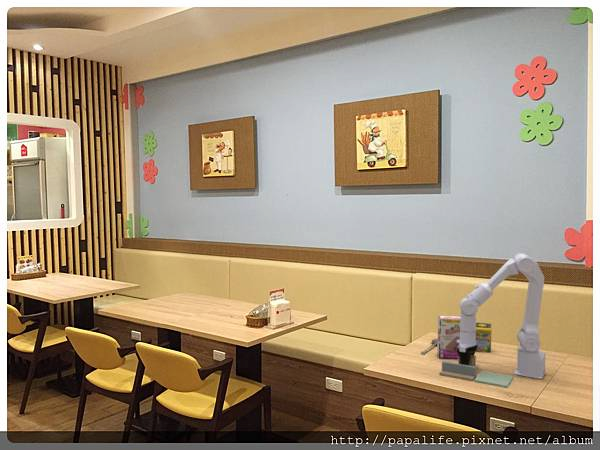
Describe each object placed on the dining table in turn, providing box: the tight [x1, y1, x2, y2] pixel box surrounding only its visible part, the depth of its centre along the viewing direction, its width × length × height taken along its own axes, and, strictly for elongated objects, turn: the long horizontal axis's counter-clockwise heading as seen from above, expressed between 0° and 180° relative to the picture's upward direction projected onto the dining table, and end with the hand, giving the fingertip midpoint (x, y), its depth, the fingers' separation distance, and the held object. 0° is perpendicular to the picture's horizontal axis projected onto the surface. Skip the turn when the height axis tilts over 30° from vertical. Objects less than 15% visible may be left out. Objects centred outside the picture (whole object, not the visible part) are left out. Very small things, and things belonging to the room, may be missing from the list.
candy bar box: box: [436, 315, 461, 360], centre depth 216 cm, size 11×5×16 cm, turn 84°
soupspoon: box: [420, 338, 438, 356], centre depth 229 cm, size 22×3×7 cm
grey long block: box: [438, 360, 477, 382], centre depth 195 cm, size 12×4×4 cm, turn 58°
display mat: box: [473, 370, 514, 388], centre depth 192 cm, size 11×11×1 cm
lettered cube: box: [458, 355, 477, 367], centre depth 202 cm, size 5×5×5 cm
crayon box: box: [475, 322, 493, 353], centre depth 225 cm, size 7×3×12 cm, turn 72°
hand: (467, 365), depth 202 cm, fingers closed on lettered cube, 5 cm apart
